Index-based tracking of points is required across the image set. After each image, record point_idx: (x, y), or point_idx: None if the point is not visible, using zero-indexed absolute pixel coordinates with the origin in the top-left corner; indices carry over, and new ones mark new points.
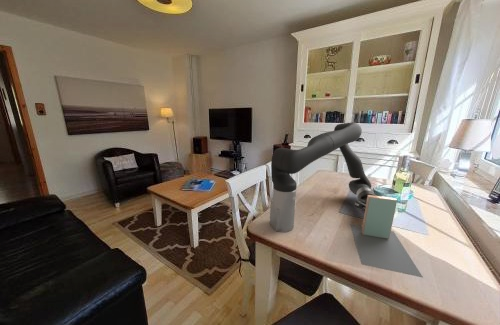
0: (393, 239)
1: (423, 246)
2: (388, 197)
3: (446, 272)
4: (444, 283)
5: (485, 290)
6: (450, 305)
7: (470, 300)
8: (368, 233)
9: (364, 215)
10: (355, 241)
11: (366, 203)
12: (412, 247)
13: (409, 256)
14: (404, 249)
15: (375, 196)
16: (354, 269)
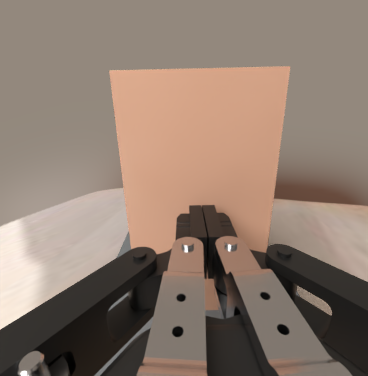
0: (123, 296)
1: (11, 302)
2: (154, 69)
3: (73, 227)
4: (107, 210)
5: (45, 213)
6: None
7: (97, 200)
8: None
9: (268, 217)
10: (267, 247)
11: (279, 136)
12: (71, 284)
13: (127, 236)
14: (120, 255)
15: (238, 70)
16: None
